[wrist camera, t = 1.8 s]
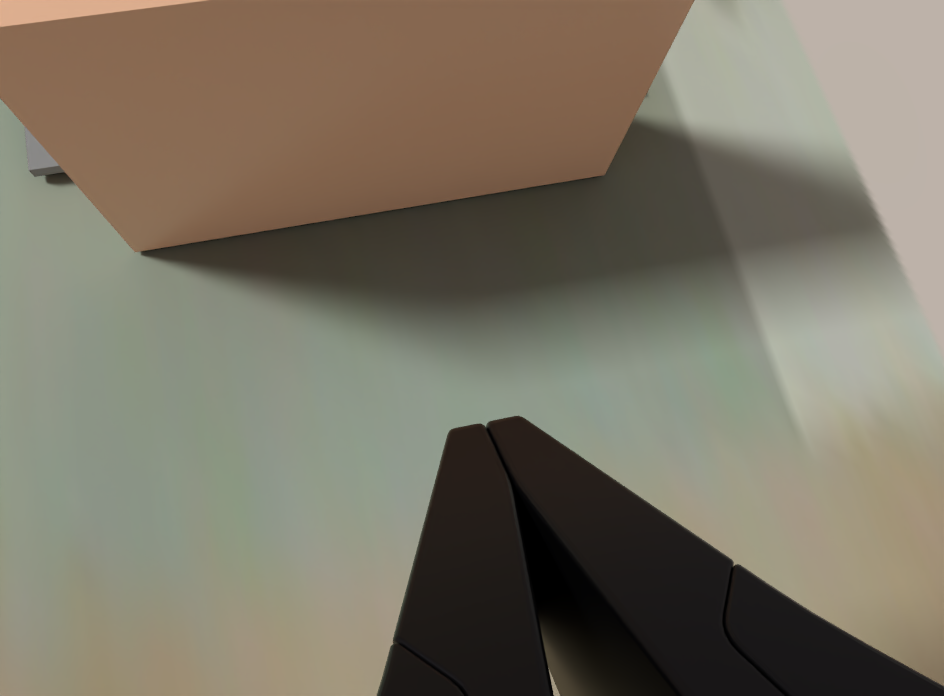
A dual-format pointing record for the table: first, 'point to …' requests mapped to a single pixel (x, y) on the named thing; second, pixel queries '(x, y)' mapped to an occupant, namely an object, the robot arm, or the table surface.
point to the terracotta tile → (322, 102)
